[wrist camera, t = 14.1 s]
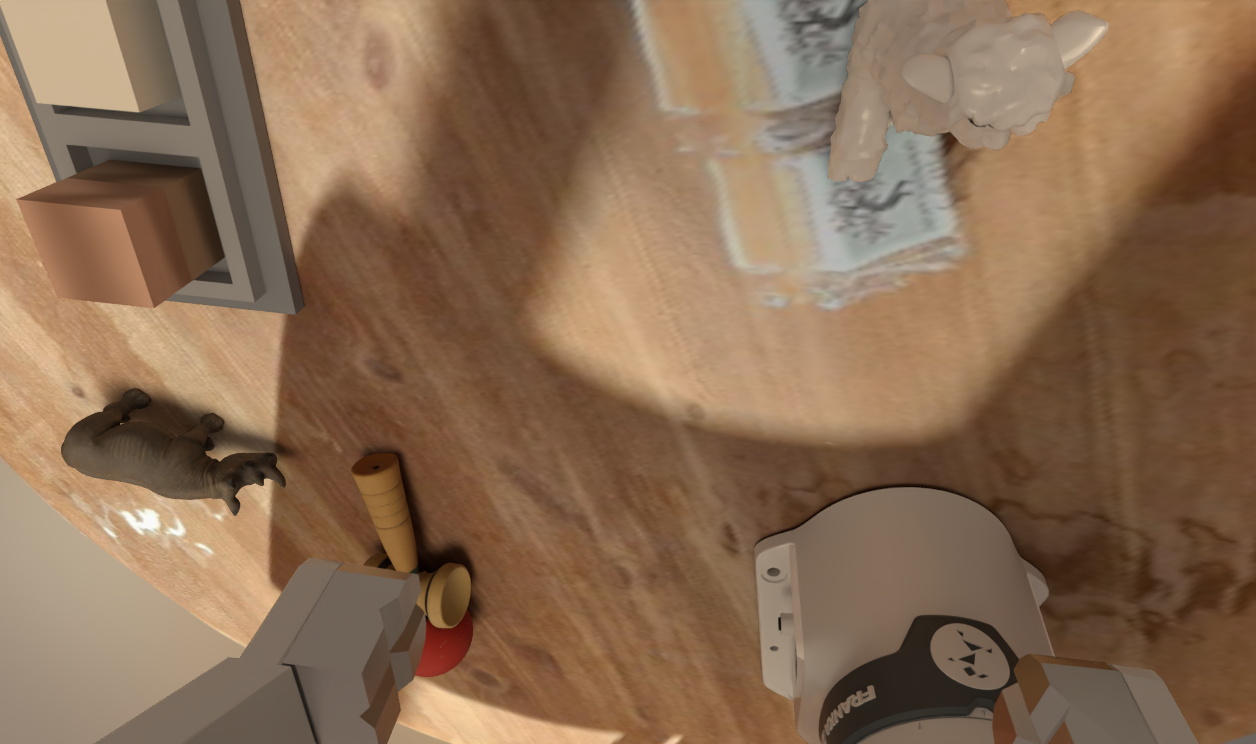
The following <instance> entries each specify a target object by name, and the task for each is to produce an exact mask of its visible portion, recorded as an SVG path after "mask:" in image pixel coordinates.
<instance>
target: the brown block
mask: <svg viewBox="0 0 1256 744" xmlns="http://www.w3.org/2000/svg"><path fill="white" fill-rule="evenodd" d="M16 200H17V202H18V205H19V207H20V209H21V212H22V214H23V217H24V219H25V221H26V224H27V226H28V228H29V231H30V233H31V236H32V238H33V240H34V243H35V245H36V247H37V250H38V252H39V255H40V257H41V259H42V262H43V264H44V266H45V269H46V271H47V274H48V276H49V278H50V281H51V283H52V286H53V288H54V290H55V293H56V295H57V297H58V298H67V299H76V300H85V301H94V302H103V303H112V304H121V305H130V306H139V307H148V308H155V307H156V306H158V305H159V304H161V303H162V302H163V301H165V300H166V299H168V298H169V297H170V296H172V295H173V294H175V293H176V292H177V291H179V290H180V289H182V288H183V287H184V286H186V285H187V284H189V283H190V282H191V281H193V280H194V279H196V278H197V277H198V276H200V275H201V274H202V273H204V272H205V271H207V270H208V269H209V268H211V267H212V266H214V265H215V264H216V263H218V262H219V261H221V260H222V259H223V258H225V255H224V252H223V248H222V244H221V240H220V237H219V233H218V229H217V226H216V222H215V218H214V214H213V211H212V207H211V203H210V200H209V196H208V192H207V188H206V185H205V181H204V177H203V174H202V170H201V168H192V167H181V166H171V165H161V164H150V163H140V162H130V161H119V160H108V161H105V162H103V163H101V164H98V165H96V166H94V167H91V168H89V169H87V170H84V171H82V172H80V173H77V174H75V175H72V176H70V177H68V178H65V179H63V180H61V181H58V182H56V183H54V184H51V185H49V186H47V187H44V188H42V189H40V190H37V191H35V192H33V193H30V194H28V195H26V196H23V197H21V198H18V199H16Z"/></svg>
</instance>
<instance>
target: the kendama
mask: <svg viewBox="0 0 1256 744" xmlns="http://www.w3.org/2000/svg"><path fill="white" fill-rule="evenodd" d="M351 471H352V475H353V477H354V479H355V481H356V484H357V486H358V488H359V490H360V491H361V494H362V497H363V499H364V501H365V503H366V506H367V509H368V511H369V513H370V516H371V518H372V521H373V523H374V525H375V528H376V530H377V533H378V535H379V538H380V540H381V542H382V544H383V547H384V548H385V551H386V553H387V554H382V553H380V554H376V555H374V556H372V557H370V558H369V559H368V560H367V561H366V562H365V564H364V565H363V566H370V567H376V568H382V569H388V570H394V571H401V572H407V573H413V574H418V576H419V581H420V586H421V593H420V595H419V597H418V600H417V602H416V604H417V605H418V606H419V607H420V608H421V609H422V610H423V611H424V612H425V619H426V636H425V643H424V647H423V651H422V656H421V660H420V663H419V666H418V668H417V671H416V673H415V675H416V676H421V677H433V676H438V675H441V674H444V673H446V672H448V671H450V670H451V669H453V668H454V667H455V666H457V665H458V664H459V663H460V662H461V661H462V659H463V658H464V657H465V655H466V653H467V652H468V650H469V647H470V645H471V641H472V636H473V623H472V619H471V616H470V613H469V611H468V609H467V607H468V604H469V599H470V593H471V581H470V576H469V573H468V570H467V569H466V567H465V566H463V565H461V564H455V563H447V564H444V565H443V566H442V567H440V568H439V569H438V570H437V571H435V572H433V573H429V574H428V573H427V572H426V571H424V572H421V573H420V572H419V566H418V557H417V550H416V542H415V537H414V531H413V526H412V522H411V517H410V514H409V509H408V505H407V502H406V496H405V492H404V487H403V482H402V479H401V473H400V467H399V461H398V458H397V456H396V455H395V454H394V453H383V454H378V453H374V454H371V455H368V456H366V457H364V458H362V459H360V460H359V461H357V463H355V464H354V466H353V467H352V470H351Z"/></svg>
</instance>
